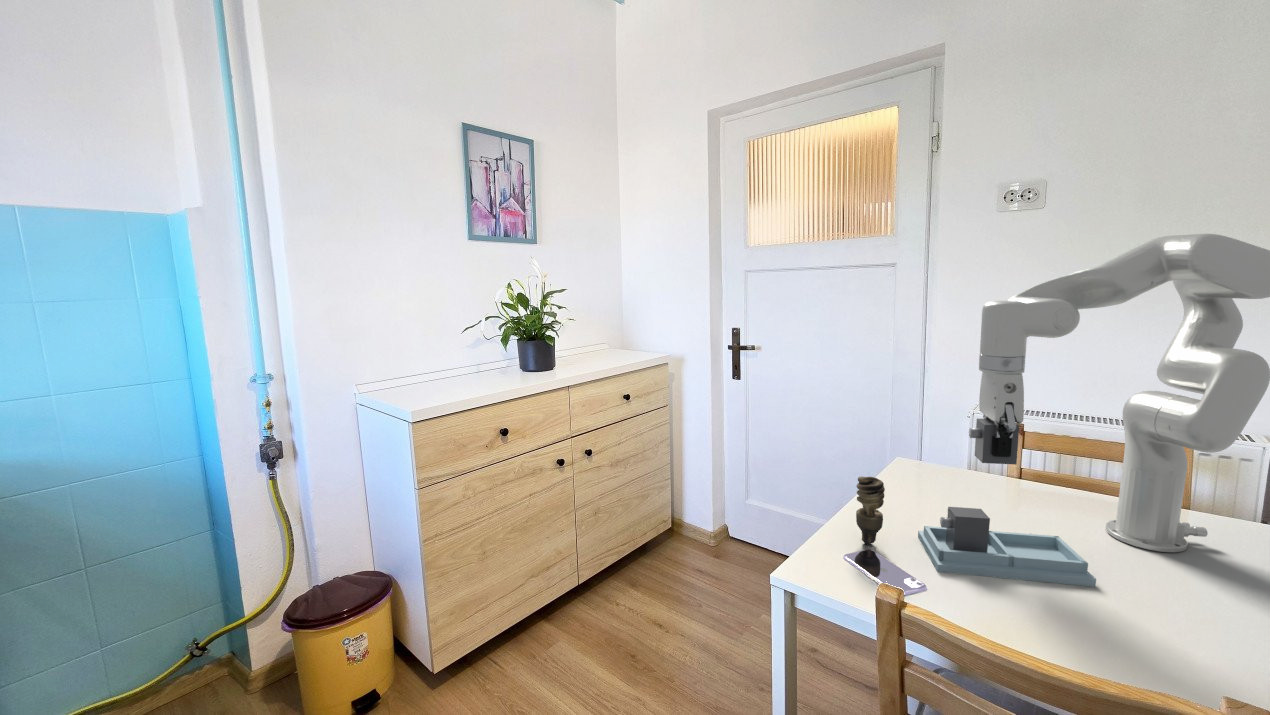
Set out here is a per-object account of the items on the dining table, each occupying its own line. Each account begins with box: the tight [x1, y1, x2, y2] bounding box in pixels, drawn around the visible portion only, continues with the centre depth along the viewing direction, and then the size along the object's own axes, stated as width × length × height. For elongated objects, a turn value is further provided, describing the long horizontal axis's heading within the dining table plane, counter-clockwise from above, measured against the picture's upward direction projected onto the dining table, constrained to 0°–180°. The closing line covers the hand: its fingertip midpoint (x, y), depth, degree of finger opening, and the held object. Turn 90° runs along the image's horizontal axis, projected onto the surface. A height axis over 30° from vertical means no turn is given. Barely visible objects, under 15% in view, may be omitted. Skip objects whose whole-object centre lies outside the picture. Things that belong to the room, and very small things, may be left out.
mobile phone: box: [842, 549, 928, 596], centre depth 105 cm, size 8×1×15 cm
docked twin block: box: [939, 506, 991, 553], centre depth 108 cm, size 8×4×8 cm, turn 77°
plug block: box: [968, 418, 1020, 466], centre depth 110 cm, size 8×4×8 cm, turn 75°
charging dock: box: [917, 525, 1097, 588], centre depth 107 cm, size 26×14×4 cm, turn 77°
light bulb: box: [855, 476, 886, 546], centre depth 114 cm, size 6×6×15 cm
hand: (995, 451), depth 110 cm, fingers closed on plug block, 4 cm apart
